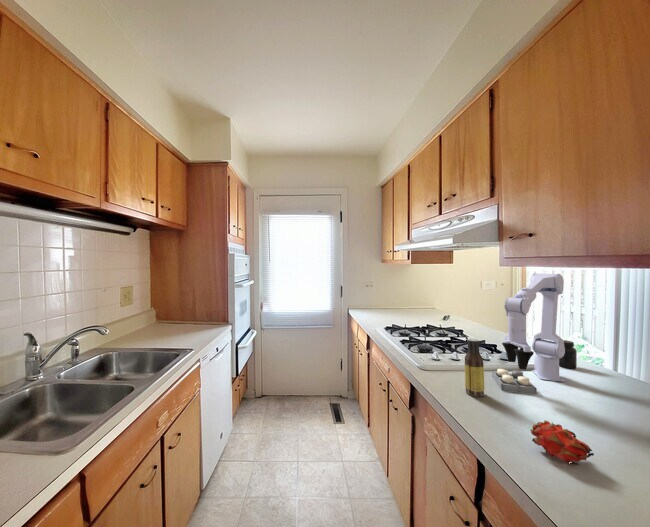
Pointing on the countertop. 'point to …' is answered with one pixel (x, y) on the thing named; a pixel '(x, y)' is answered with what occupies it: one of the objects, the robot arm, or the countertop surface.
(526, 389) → the button board
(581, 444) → the dragon fruit
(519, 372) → the button back left charcoal
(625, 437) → the countertop surface
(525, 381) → the button front left
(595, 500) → the countertop surface
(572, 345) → the supplement bottle
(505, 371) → the button back right
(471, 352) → the sauce bottle
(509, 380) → the button front right
